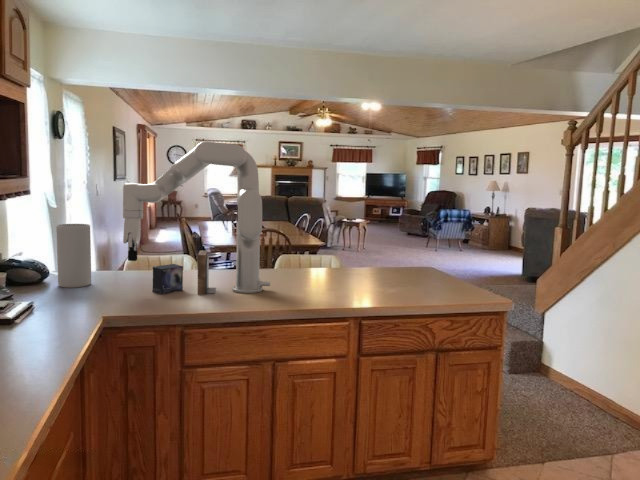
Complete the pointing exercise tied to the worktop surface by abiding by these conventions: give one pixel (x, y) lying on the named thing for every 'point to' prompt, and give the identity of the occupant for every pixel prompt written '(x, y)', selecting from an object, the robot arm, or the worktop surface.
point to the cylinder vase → (73, 255)
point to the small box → (167, 278)
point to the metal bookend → (207, 289)
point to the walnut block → (201, 271)
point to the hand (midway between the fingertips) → (132, 260)
